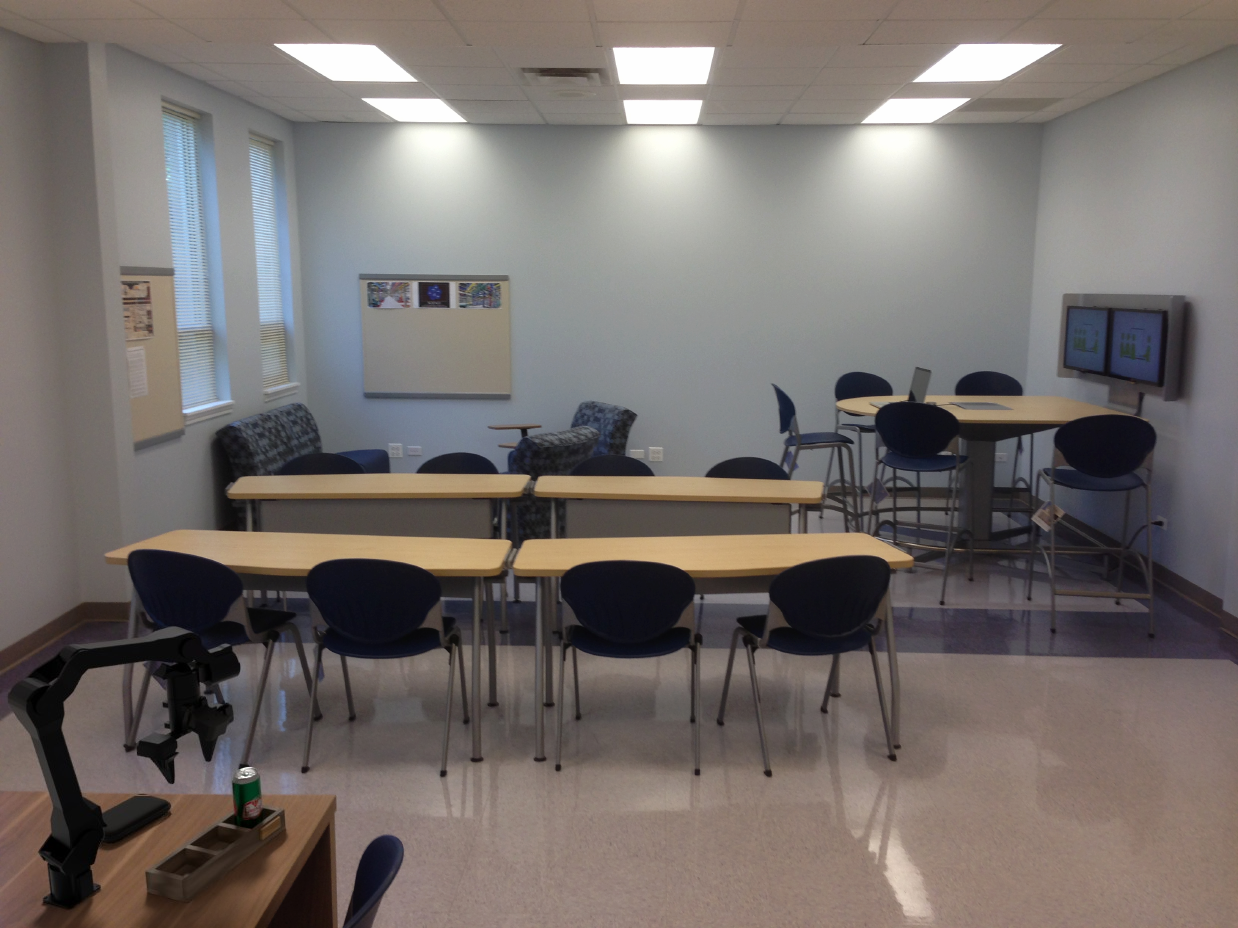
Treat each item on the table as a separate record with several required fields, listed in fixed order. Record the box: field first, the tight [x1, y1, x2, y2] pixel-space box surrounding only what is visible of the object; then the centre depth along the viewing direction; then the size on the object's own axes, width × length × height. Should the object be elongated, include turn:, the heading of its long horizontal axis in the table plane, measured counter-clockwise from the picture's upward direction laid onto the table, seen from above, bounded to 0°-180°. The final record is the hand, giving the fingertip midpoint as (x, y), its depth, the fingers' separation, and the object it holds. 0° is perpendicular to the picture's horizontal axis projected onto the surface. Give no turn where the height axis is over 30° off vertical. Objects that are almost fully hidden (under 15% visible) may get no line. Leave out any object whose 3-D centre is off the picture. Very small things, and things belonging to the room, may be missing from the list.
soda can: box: [231, 767, 263, 829], centre depth 183 cm, size 5×5×12 cm
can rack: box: [144, 803, 287, 904], centre depth 176 cm, size 10×25×4 cm, turn 160°
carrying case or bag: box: [101, 793, 172, 845], centre depth 189 cm, size 11×3×15 cm
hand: (190, 772), depth 182 cm, fingers open, 9 cm apart
